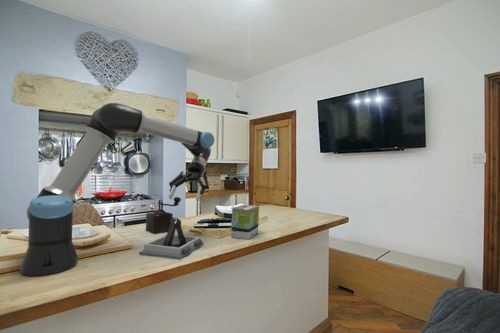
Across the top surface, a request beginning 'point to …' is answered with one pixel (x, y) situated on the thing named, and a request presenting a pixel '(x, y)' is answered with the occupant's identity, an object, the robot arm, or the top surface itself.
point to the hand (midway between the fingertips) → (183, 198)
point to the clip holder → (171, 252)
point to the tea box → (245, 221)
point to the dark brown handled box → (160, 219)
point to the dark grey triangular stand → (171, 233)
